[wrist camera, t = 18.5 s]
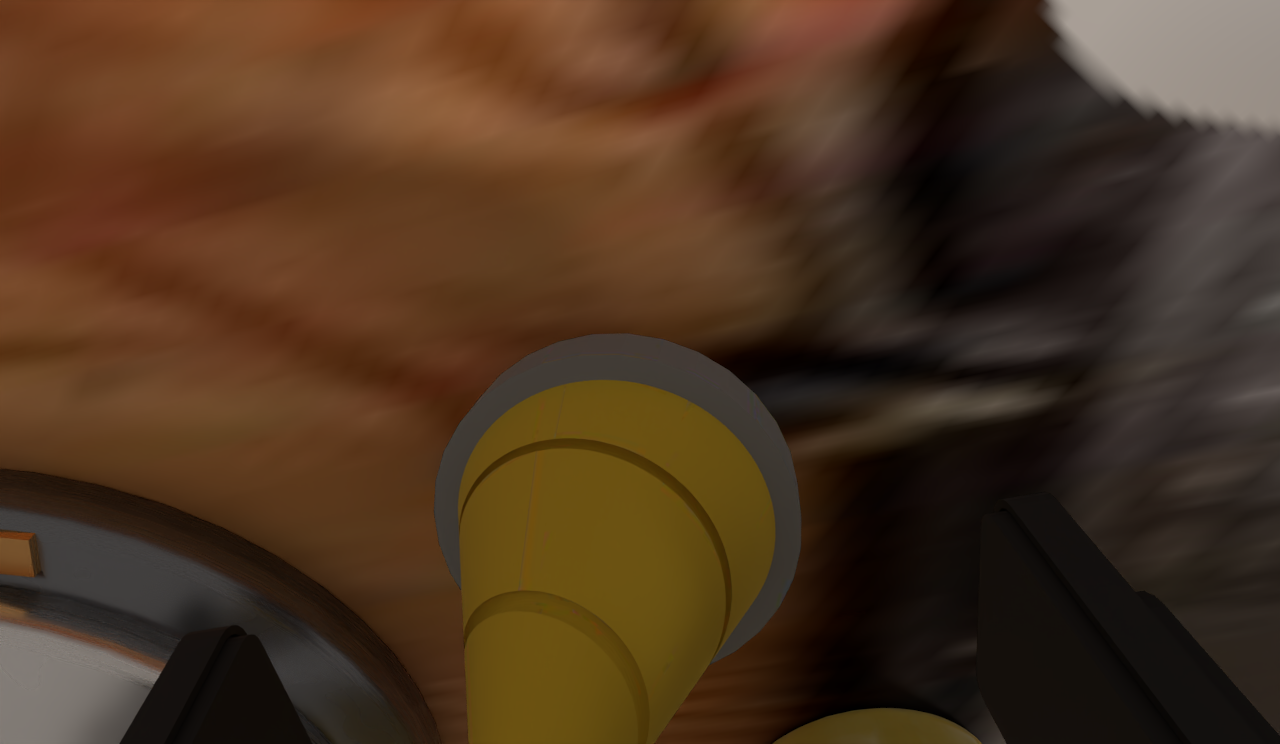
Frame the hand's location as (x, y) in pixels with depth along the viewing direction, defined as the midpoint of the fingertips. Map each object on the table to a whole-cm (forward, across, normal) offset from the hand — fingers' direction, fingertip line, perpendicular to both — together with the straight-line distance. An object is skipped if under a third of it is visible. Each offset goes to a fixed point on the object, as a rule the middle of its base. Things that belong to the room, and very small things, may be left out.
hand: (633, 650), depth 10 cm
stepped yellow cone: (+6, 0, 0) cm, 6 cm away
